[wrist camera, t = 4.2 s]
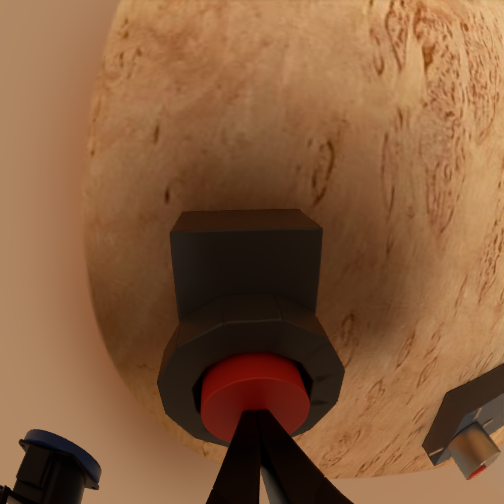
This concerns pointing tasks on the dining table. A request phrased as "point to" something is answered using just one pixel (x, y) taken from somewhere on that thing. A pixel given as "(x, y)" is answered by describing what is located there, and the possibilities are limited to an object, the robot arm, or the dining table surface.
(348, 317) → the dining table surface
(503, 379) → the panel
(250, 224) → the power button base
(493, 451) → the dial
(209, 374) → the power button
